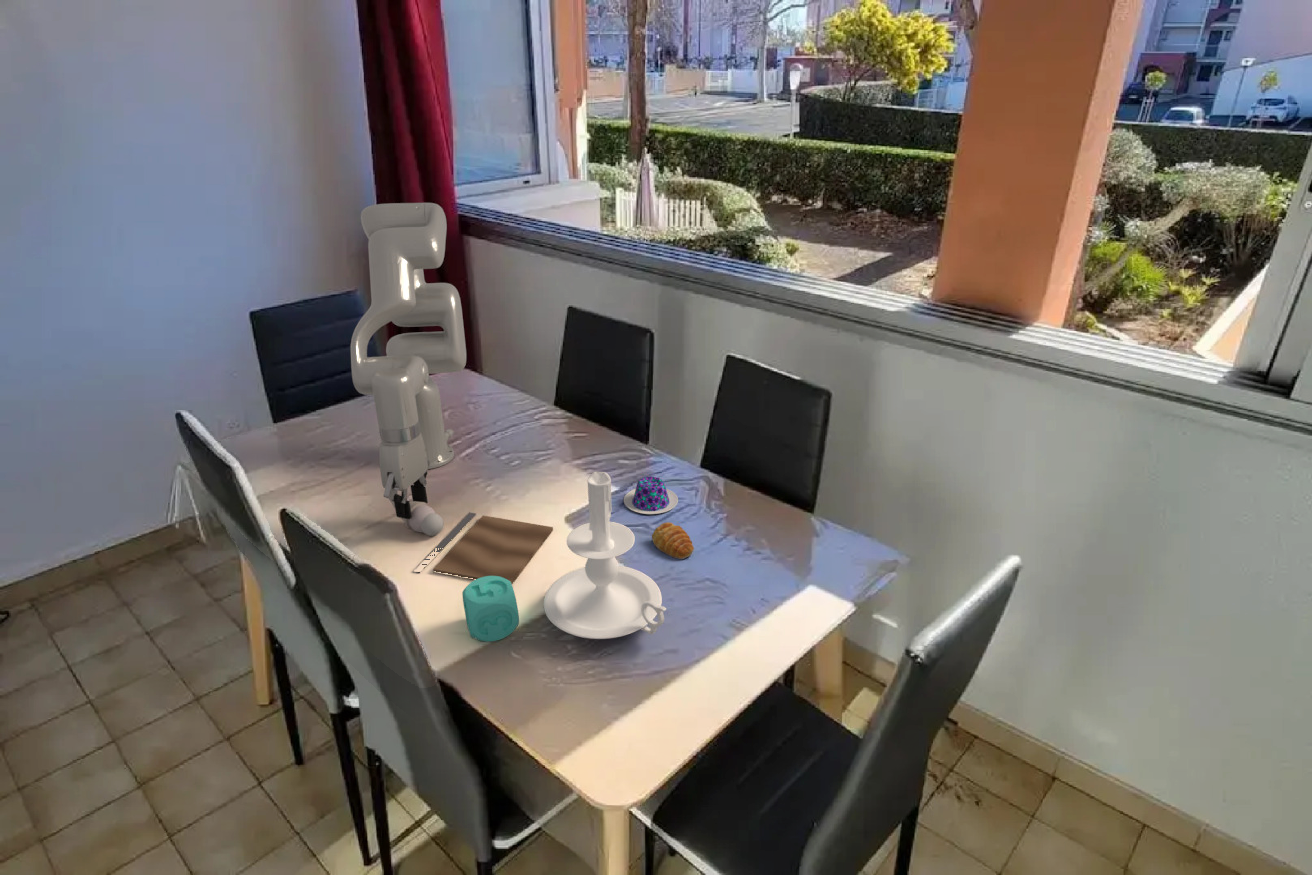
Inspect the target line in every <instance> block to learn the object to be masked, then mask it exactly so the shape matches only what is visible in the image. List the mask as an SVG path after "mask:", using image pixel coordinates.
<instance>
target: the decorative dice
mask: <svg viewBox="0 0 1312 875" xmlns="http://www.w3.org/2000/svg"><path fill="white" fill-rule="evenodd" d="M461 595H462V602H463V603H462V604H463V610H464V615H465V621H466V624H467V629H468V632H469V633H468V634H469V636H470V637H471V638H472V639H475V640H478V641H481V642H489V643H490V642H491V643H492V642H498V641H500V640H503V639H505V638H506V637H508V636H510V635H511V634H512V633H513V632H514V631H515V630H516V628H518V626H519V623H520V619H519V618H520V616H519V609H518V603H517V598H516V595H515V590H514V586H513V584H511V582H510V581H509V580H507V579H505V578H503V577H499V576H485V577H481V578H478V579H476V580H472V581H471V582H469V584H467V586H466V587H464V589H463V591H462V594H461Z"/></svg>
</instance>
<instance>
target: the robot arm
mask: <svg viewBox="0 0 1312 875" xmlns="http://www.w3.org/2000/svg"><path fill="white" fill-rule="evenodd" d="M360 222H361V227H362V229H363V232H364V234H365V236H366V237H367V239H368V243H367V245H368V246H367V248H368V262H369V280H370V296H371V304H370V307H369V308H368V309H367V311H366V312H365V313H364V314H363V315H362V316H361V318H360V320H359V321H358V323H357V324H356V326H355V328H354V330H353V333H352V336H351V340H350V341H351V342H350V366H351V369H350V370H351V378H352V383H353V386H354V388H355V390H356V391H357V392H358V393H359V394H362V395H364V396H373V401H374V408H375V413H376V417H377V424H378V430H379V436H380V441H381V442H380V443H379V447H378V448H379V451H378V452H379V453H378V454H379V456H378V457H379V458H378V459H379V471H380V479H381V485H382V487H383V488H384V492H383V498H386V499H388V500H389V499H390V500H392V502H394V504H395V508H394V509H395V515H396V518H400V519H402V518H405V519H410V518H411V517H412V515H411V509H410V502H409V501H410V500H408V488H409V487H410V494H411V498H412V501H417V502H425V503H426V504H427V505H428V502H429V501H428V494H427V490H426V486H427V475H428V471H429V470H431V469H432V470H433V469H436V468H439V467H442V466H444V465H446V464H448V463H449V462H451V461H452V460H453V459H454V456H455V451H454V448H453V447H452V446H451V445H449V444H448V441H449V439H450V438H451V437H452V436H454V431H453V429H452V428H447V429H446V430H445V424H444V417H443V412H442V411H443V410H442V401H441V394H440V393H441V392H440V388H439V387H438V385H437V383H436V382H435V380H433V378H432V377H431V376H430V375H433V374H445V373H446V374H448V373H457V372H461V371H462V370H463V369H464V368H466V367H465V366H466V364H467V347H466V345H467V344H466V337H465V328H464V319H463V308H462V303H461V302H462V301H461V297H460V293H459V291H458V289H457V288H456V286H454V285H453V284H452V283H448V282H434V283H433V282H431V283H427V282H426V280H425V274H424V270H428V269H429V270H431V269H438V268H440V267H441V266H442V264H443V262H444V258H445V254H446V253H445V252H446V242H447V241H446V240H447V229H448V228H447V225H448V224H447V218H446V213H445V212H444V209H443V207H441V206H440V205H439V204H437V203H433V202H400V203H399V202H398V203H397V202H396V203H395V202H393V203H392V202H391V203H378V204H372V205H369V206H366V207H365V208H363V209H362V210H361V213H360ZM390 322H392V324H394V325H396V326H397V327H403V328H406V327H407V328H410V327H411V328H415V327H435V326H436V327H437V326H438V327H441V328H442V329H443V331H422V332H420V331H419V332H418V331H417V332H406V333H405V332H404V333H401V334H397V335H396V334H395V335H394V336H392V337H390V338H389V340H388V341H387V343H386V348H385V352H386V355H384V356H371V357H370V356H368V345H369V342H370V340H371V338H372V336H373V335H374V334H375V333H376V332H377V331H378V330H379V329H381V327H384V326H385V325H387V324H389V323H390ZM400 491H401V494H398V492H400ZM390 500H389V501H390Z"/></svg>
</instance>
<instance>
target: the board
mask: <svg viewBox="0 0 1312 875" xmlns="http://www.w3.org/2000/svg"><path fill="white" fill-rule="evenodd" d="M553 530H554V527H553V526H548V525H541V524H537V523H531V522H530V523H529V522H524V521H518V520H512V519H508V518H507V519H506V518H501V517H494V516H489V515H483V514H482V515H481V517H480V518H478V520H477V521H476V522H475V523H474V524H473V526H471V527H470V528H469V530H468V531H467V532H466V533H465V534H464V535H463V536H462V537H461V538H460V540H459V541H458V542H456V544H455V545H454V546H453V547H452V548H451V549H450V550H448V552H447V554H446V555H444V556H443V557H442V558H441V560H440V561H438V563H437V564H436V565H435V566H434V567H433V568H432V571H436V572H441V573H448V574H452V575H458V576H461V577H468V578H473V579H478V578H481V577H485V576H499V577H503V578H505V579H507V580H509V581H510V582H511V584H512V585H513V584H514V583H515V581H516V580H517V579H518V577H519V576H520V575H521V574H522V572H523V571H524V570H525V569H526V567H527V566H528V564H529V563H530V562H531V560H532V559H533V558H534V557H535V555H536V554H537V552H538V551H539V550H540V548H541V547H542V546H543V544H544V543H545V542H546V540H547V539H548V538H549V537H550V535H551V534H552V533H553ZM513 582H514V583H513Z"/></svg>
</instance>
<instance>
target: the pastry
mask: <svg viewBox="0 0 1312 875" xmlns="http://www.w3.org/2000/svg"><path fill="white" fill-rule="evenodd" d="M651 540H652V543H653V545H654V546H655V547H656V548H657V550H659V551H660V552H662V553H664V554H666V555H668V556H669V557H671V558H674V559H679V560H684V559H686V558H688V557H690V556H692V554H693V552H694V550H695V547H694V545H693V541H692V540H691V538H690V535H689V534H688V532H686V530H684V529H683V527H682V526H680V525H675V524H673V522H669V521H668V522H664V523H661V524H659V526H657V527H656V528H655V529H654V531H653V532H652V534H651Z"/></svg>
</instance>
